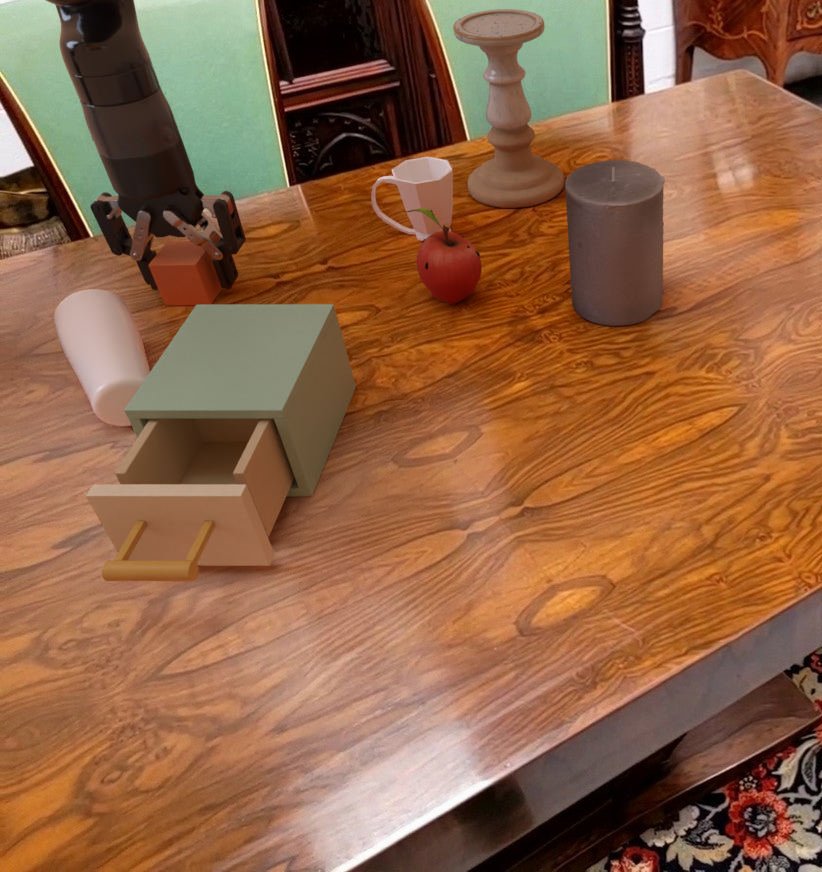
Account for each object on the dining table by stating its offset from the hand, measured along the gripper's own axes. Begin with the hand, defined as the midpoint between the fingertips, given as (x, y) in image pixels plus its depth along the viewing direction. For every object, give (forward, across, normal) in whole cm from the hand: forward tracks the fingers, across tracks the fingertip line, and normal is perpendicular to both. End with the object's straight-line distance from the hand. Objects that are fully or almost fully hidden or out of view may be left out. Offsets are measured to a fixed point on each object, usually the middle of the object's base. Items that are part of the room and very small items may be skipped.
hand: (194, 285), depth 101 cm
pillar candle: (+1, -46, +2) cm, 46 cm away
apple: (+1, -28, +1) cm, 28 cm away
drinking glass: (-2, -3, +23) cm, 23 cm away
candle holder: (+1, -32, -25) cm, 41 cm away
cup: (+1, -22, -13) cm, 26 cm away
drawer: (0, -15, +36) cm, 39 cm away
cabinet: (+1, -15, +24) cm, 29 cm away
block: (+1, 0, 0) cm, 1 cm away
